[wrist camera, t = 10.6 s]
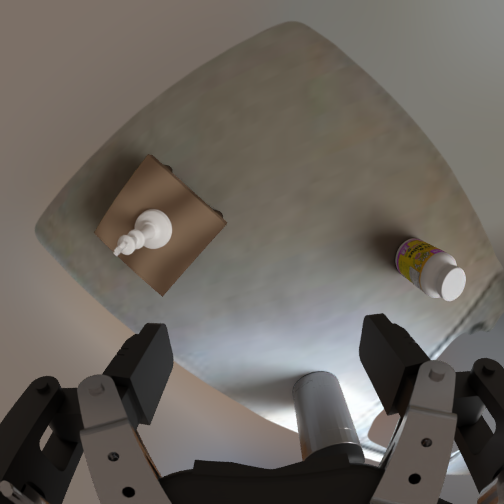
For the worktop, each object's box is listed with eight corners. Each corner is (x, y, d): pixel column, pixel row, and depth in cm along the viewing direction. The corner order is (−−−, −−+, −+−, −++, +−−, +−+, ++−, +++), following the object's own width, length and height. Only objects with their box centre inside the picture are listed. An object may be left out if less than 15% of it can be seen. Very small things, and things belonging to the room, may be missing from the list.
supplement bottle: (422, 232, 39) (470, 252, 27) (427, 267, 41) (471, 295, 28) (390, 245, 40) (434, 271, 27) (396, 281, 41) (436, 315, 29)
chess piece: (180, 229, 32) (150, 252, 23) (154, 255, 33) (120, 286, 24) (153, 200, 31) (114, 212, 22) (129, 228, 32) (87, 249, 23)
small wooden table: (231, 216, 39) (226, 224, 32) (176, 278, 42) (162, 296, 35) (165, 157, 37) (148, 154, 30) (116, 223, 39) (93, 232, 33)
